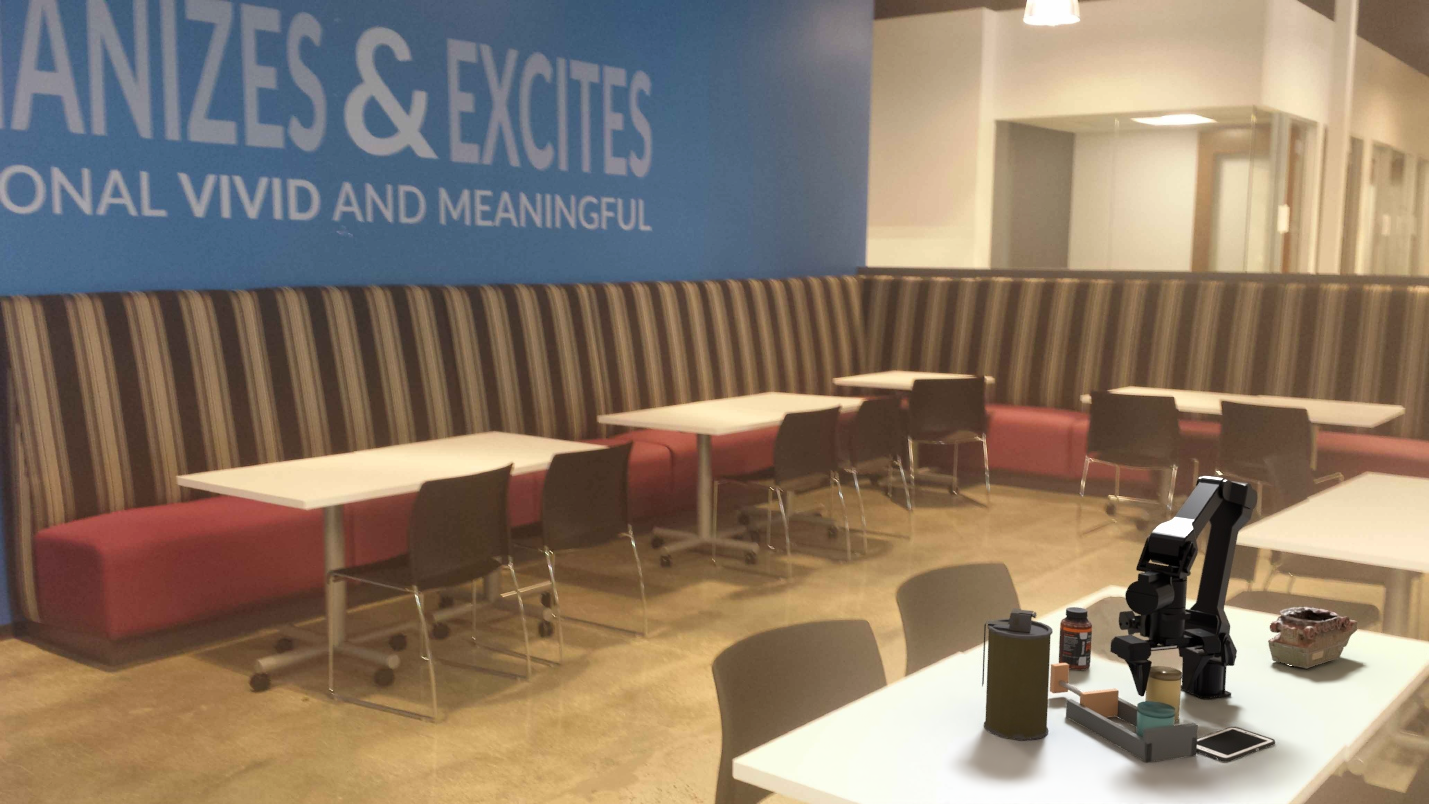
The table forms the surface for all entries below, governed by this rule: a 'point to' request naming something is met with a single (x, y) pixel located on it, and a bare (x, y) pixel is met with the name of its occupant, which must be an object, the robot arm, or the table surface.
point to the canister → (1017, 676)
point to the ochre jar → (1165, 687)
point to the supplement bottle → (1075, 639)
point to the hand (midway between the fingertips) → (1163, 693)
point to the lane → (1150, 747)
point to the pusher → (1094, 700)
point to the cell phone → (1232, 744)
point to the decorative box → (1309, 636)
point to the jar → (1153, 715)
